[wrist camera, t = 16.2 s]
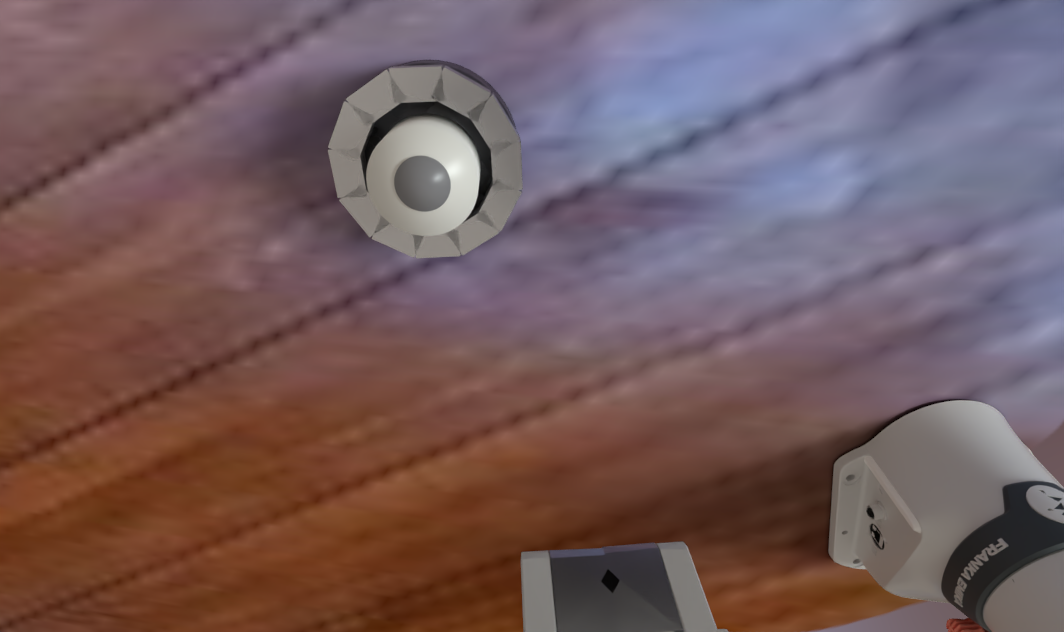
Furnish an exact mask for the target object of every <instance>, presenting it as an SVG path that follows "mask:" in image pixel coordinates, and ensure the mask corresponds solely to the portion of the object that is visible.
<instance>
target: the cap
mask: <svg viewBox="0 0 1064 632" xmlns="http://www.w3.org/2000/svg"><path fill="white" fill-rule="evenodd" d="M480 172H481V162H480V156H479V152H478V149H477V147H476V144H475V143H474V141H473V139H472V137H471V136H470V135H469V133H468V132H467V131H466V130H465V129H464V128H463V127H462V126H460V125H459V124H458V123H456V122H455V121H453V120H452V119H449V118H447V117H445V116H442V115H438V114H432V113H422V114H416V115H412V116H409V117H407V118H405V119H403V120H401V121H400V122H398V123H397V124H396V125H395V126H394V127H393V128H392V129H391V130H390V131H389V132H388V133H387V135H386V136H385V137H384V138H383V139H382V140H381V141H380V142H379V143H378V144H377V146H376V147H375V149H374V150H373V152H372V154H371V156H370V158H369V161H368V165H367V171H366V181H367V188H368V192H369V195H370V198H371V200H372V202H373V204H374V206H375V207H376V209H377V210H378V212H379V213H380V214H381V215H382V216H383V217H384V218H385V219H386V220H387V221H388V222H389V223H390V224H392V225H393V226H395V227H396V228H398V229H400V230H402V231H405V232H407V233H410V234H414V235H420V236H434V235H440V234H444V233H446V232H449V231H451V230H453V229H455V228H456V227H458V226H459V225H460V224H462V223H463V222H464V221H465V220H466V218H467V217H468V216H469V215H470V213H471V211H472V210H473V208H474V206H475V203H476V200H477V196H478V189H479V180H480Z"/></svg>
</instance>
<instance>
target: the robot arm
mask: <svg viewBox="0 0 1064 632" xmlns="http://www.w3.org/2000/svg"><path fill="white" fill-rule="evenodd" d="M828 552H829V555H830V557H831V558H832V559H833V561H834V562H836V563H838V564H841V565H843V566H847V567H851V568H858V569H867V570H868V572H869V573H870V574H871V576H872V577H873V578H874V579H875V581H876V582H877V583H878V584H879V585H880V586H881V587H883V588H884V589H885V590H887V591H889V592H890V593H893V594H895V595H898V596H901V597H906V598H912V599H921V600H929V601H937V602H945V603H951V604H952V605H954V606H955V607H956V608H957V609H959V610H960V611H961V612H962V613H964V614H965V615H966V616H967V617H969V618H967V619H964V620H963V619H949V620H948V621H947V626H946V627H947V629H949V630H948V632H1064V488H1063V487H1062V486H1061V485H1060V483H1059V482H1057V480H1056V479H1055V478H1054V477H1053V476H1052V475H1051V474H1050V473H1049V472H1048V471H1047V470H1046V468H1045V467H1044V466H1043V465H1042V464H1041V463H1040V462H1039V461H1038V460H1037V459H1036V458H1035V457H1034V455H1033V454H1032V452H1031V451H1030V450H1029V449H1028V448H1027V447H1026V446H1025V445H1024V443H1022V442H1021V440H1020V439H1019V438H1018V437H1017V435H1016V434H1015V433H1014V431H1013V430H1012V428H1011V427H1010V426H1009V424H1008V423H1007V421H1006V420H1005V418H1004V417H1003V415H1002V414H1001V413H1000V412H999V411H998V410H996V409H995V408H993V407H992V406H990V405H987V404H984V403H981V402H977V401H969V400H956V401H947V402H941V403H937V404H933V405H930V406H926V407H924V408H921V409H918V410H916V411H914V412H911V413H909V414H907V415H905V416H903V417H902V418H900V419H898V420H896V421H895V422H893V423H892V424H890V425H889V426H888V427H886V428H885V429H884V430H882V431H881V432H880V433H879V434H878V435H877V436H875V437H874V438H873V439H872V440H871V441H869V442H868V443H866V444H865V445H863V446H861V447H859V448H857V449H855V450H853V451H850V452H849V453H847V454H845V455H843V456H842V457H840V458H839V459H838V460H837V461H836V462H835V464H834V470H833V486H832V501H831V517H830V532H829V549H828ZM521 580H522V604H523V628H524V632H728V631H727V630H726V629H717V627H716V625H715V622H714V619H713V616H712V614H711V611H710V608H709V605H708V602H707V600H706V597H705V594H704V591H703V588H702V586H701V583H700V580H699V577H698V575H697V572H696V569H695V566H694V563H693V561H692V558H691V555H690V552H689V550H688V547H687V546H686V544H685V543H684V542H682V541H679V542H668V543H656V544H655V543H644V544H632V545H620V546H608V547H602V548H594V549H571V550H549V551H548V550H546V551H531V552H521Z"/></svg>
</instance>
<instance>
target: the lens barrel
mask: <svg viewBox="0 0 1064 632" xmlns="http://www.w3.org/2000/svg"><path fill="white" fill-rule="evenodd" d="M422 113H432V114H438V115H442V116H445V117H447V118H449V119H452V120H453V121H455V122H456V123H458V124H459V125H460V126H462V127H463V128H464V129H465V130H466V131H467V132H468V133H469V135H470V136H471V137H472V139H473V141H474V143H475V144H476V147H477V149H478V152H479V156H480V162H481V172H480V180H479V189H478V196H477V200H476V203H475V206H474V208H473V210H472V211H471V213H470V215H469V216H468V217H467V218H466V220H465V221H464V222H463V223H462V224H460V225H459V226H458V227H456V228H455V229H453V230H451V231H449V232H446V233H444V234H440V235H434V236H420V235H414V234H410V233H407V232H405V231H402V230H400V229H398V228H396V227H395V226H393V225H392V224H390V223H389V222H388V221H387V220H386V219H385V218H384V217H383V216H382V215H381V214H380V213H379V212H378V210H377V209H376V207H375V206H374V204H373V202H372V200H371V198H370V195H369V192H368V188H367V181H366V171H367V165H368V161H369V158H370V156H371V154H372V152H373V150H374V149H375V147H376V146H377V144H378V143H379V142H380V141H381V140H382V139H383V138H384V137H385V136H386V135H387V133H388V132H389V131H390V130H391V129H392V128H393V127H394V126H395V125H396V124H397V123H398V122H400V121H401V120H403V119H405V118H407V117H409V116H412V115H416V114H422ZM328 148H329V149H328V154H329V158H330V163H331V168H332V173H333V178H334V182H335V187H336V192H337V197H338V198H340V199H339V201H340V202H341V203H342V205H343V206H344V207H345V208H346V209H347V211H348V212H349V213H350V214H351V215H352V217H353V218H354V219H355V220H356V221H357V223H358V224H359V225H360V226H361V228H362V229H363V230H364V231H365V232H366V234H367V235H368V236H369V237H371V236H372V235H373V236H372V239H373V240H375V241H378V242H380V243H382V244H384V245H387V246H389V247H391V248H393V249H395V250H398V251H400V252H402V253H404V254H407V255H409V256H411V257H413V258H414V257H415V254H416V258H431V257H451V256H461V254H462V255H464V254H466V253H467V252H469V251H471V250H472V249H474V248H476V247H477V246H479V245H480V244H482V243H484V242H485V241H487V240H489V239H490V238H492V237H493V236H495V235H497V234H498V233H500V231H501V230H502V228H503V227H504V225H505V223H506V221H507V219H508V217H509V215H510V213H511V212H512V210H513V208H514V206H515V204H516V202H517V200H518V198H519V197H520V195H521V193H522V190H523V189H522V163H521V141H520V137H519V134H518V132H517V131H516V127H515V123H514V121H513V118H512V115H511V113H510V111H509V109H508V107H507V106H506V104H505V102H504V101H503V99H502V98H501V97H500V95H499V94H498V93H497V92H496V90H495V89H494V88H493V87H492V86H491V85H490V84H489V83H488V82H486V81H485V80H484V79H483V78H482V77H480V76H479V75H477V74H476V73H474V72H472V71H471V70H469V69H466V68H464V67H462V66H460V65H457V64H454V63H450V62H445V61H440V60H420V61H413V62H409V63H405V64H402V65H400V66H392V67H390V68H388V69H386V70H385V71H383V72H382V73H381V74H379V75H378V76H376V77H375V78H374V79H372V80H371V81H370V82H368V83H367V84H365V85H364V86H363V87H361V88H360V89H359V90H357V91H356V92H355V93H353V94H352V95H350V96H349V97H348V98H346V100H345V101H344V103H343V106H342V109H341V112H340V114H339V117H338V120H337V123H336V126H335V129H334V131H333V134H332V137H331V140H330V143H329V146H328Z"/></svg>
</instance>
